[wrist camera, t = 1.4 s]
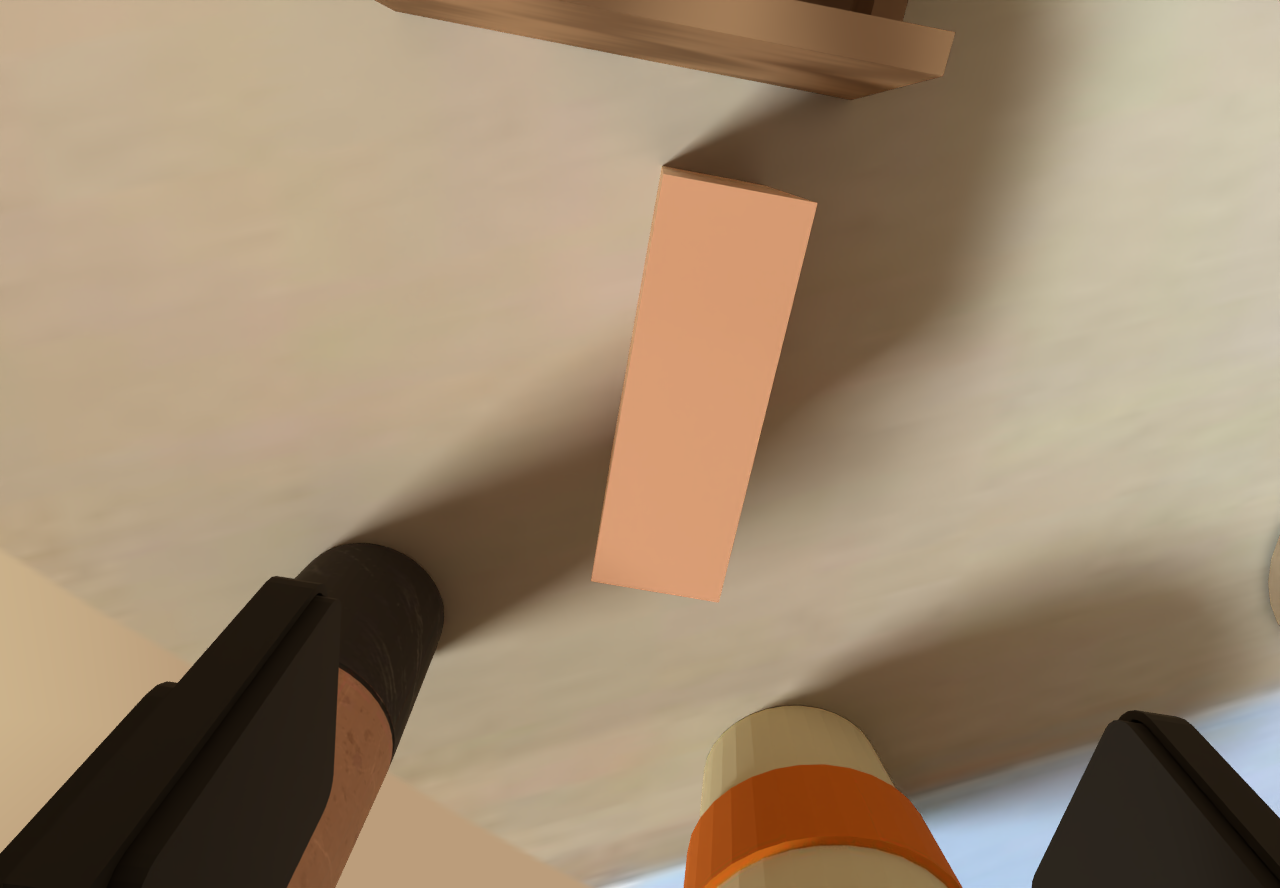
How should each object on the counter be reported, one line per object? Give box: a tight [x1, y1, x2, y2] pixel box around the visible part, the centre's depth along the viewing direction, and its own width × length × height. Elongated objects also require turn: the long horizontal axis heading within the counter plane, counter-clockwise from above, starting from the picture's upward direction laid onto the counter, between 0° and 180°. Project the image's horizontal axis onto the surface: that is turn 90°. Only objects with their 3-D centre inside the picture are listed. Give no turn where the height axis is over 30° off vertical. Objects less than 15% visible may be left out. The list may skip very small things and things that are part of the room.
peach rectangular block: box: [591, 166, 817, 602], centre depth 27 cm, size 4×12×11 cm, turn 170°
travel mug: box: [287, 543, 444, 888], centre depth 28 cm, size 8×8×20 cm
